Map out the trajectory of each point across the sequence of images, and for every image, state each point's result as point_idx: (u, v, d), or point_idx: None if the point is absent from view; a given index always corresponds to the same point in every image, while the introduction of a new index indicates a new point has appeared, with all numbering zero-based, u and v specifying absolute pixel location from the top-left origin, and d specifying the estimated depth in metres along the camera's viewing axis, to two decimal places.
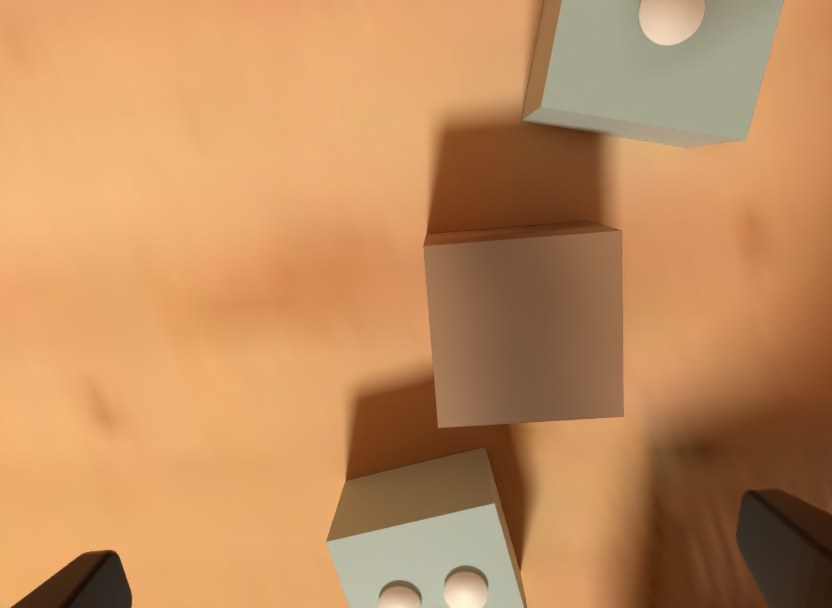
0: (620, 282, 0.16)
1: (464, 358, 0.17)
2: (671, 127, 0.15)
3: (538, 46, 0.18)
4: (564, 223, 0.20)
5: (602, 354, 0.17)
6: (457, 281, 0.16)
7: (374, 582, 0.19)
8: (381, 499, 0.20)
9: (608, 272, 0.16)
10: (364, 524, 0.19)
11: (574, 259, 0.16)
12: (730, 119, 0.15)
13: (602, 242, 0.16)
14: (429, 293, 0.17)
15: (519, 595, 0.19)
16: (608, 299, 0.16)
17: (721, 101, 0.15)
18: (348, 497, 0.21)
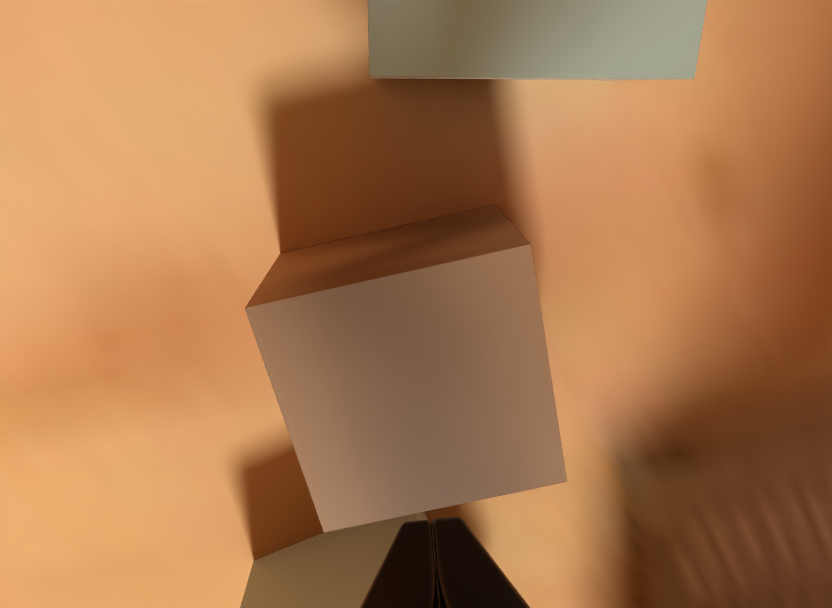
0: (539, 315, 0.11)
1: (339, 445, 0.12)
2: (578, 76, 0.10)
3: None
4: (463, 214, 0.14)
5: (527, 411, 0.12)
6: (305, 348, 0.11)
7: None
8: (290, 595, 0.16)
9: (520, 304, 0.11)
10: None
11: (468, 295, 0.11)
12: (667, 49, 0.10)
13: (505, 264, 0.11)
14: (270, 370, 0.11)
15: None
16: (525, 340, 0.11)
17: (650, 22, 0.09)
18: (253, 592, 0.17)
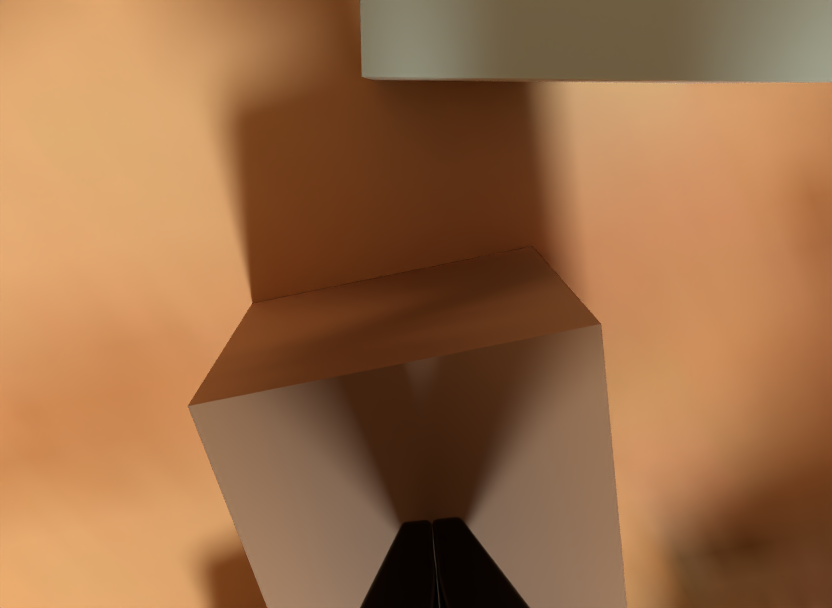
0: (606, 420, 0.08)
1: (321, 583, 0.09)
2: (676, 78, 0.06)
3: None
4: (492, 259, 0.11)
5: (581, 544, 0.09)
6: (275, 460, 0.08)
7: None
8: None
9: (580, 405, 0.08)
10: None
11: (508, 391, 0.08)
12: (814, 38, 0.06)
13: (562, 351, 0.08)
14: (225, 487, 0.08)
15: None
16: (584, 452, 0.08)
17: None
18: None
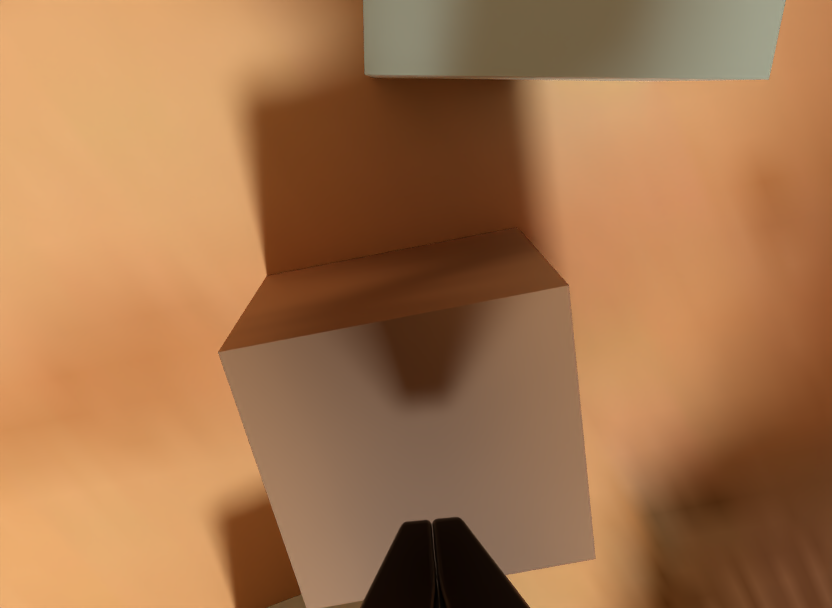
0: (573, 369, 0.09)
1: (328, 512, 0.10)
2: (624, 76, 0.08)
3: None
4: (480, 238, 0.12)
5: (553, 479, 0.10)
6: (291, 400, 0.09)
7: None
8: None
9: (551, 356, 0.09)
10: None
11: (490, 343, 0.09)
12: (737, 43, 0.08)
13: (536, 308, 0.09)
14: (247, 425, 0.09)
15: None
16: (555, 397, 0.10)
17: (717, 8, 0.08)
18: None
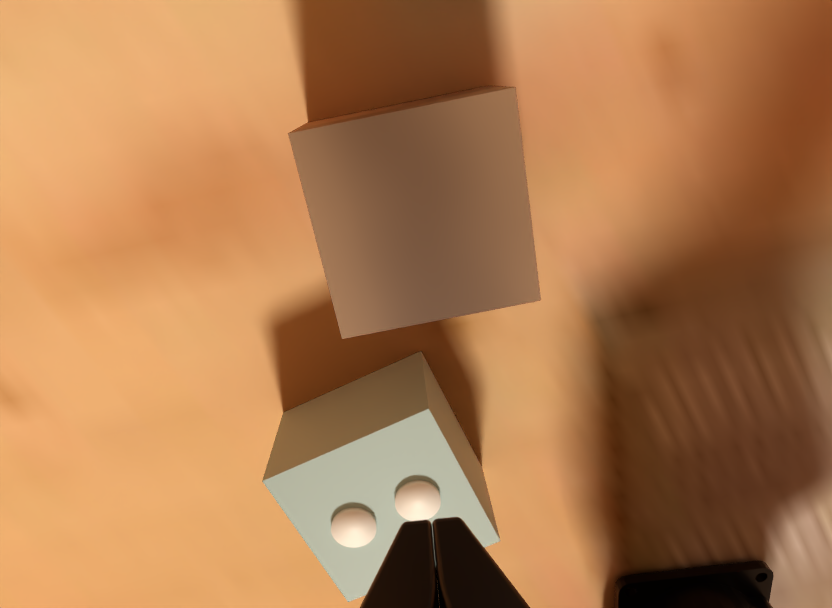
0: (521, 149, 0.14)
1: (358, 259, 0.15)
2: None
3: None
4: (462, 91, 0.17)
5: (510, 235, 0.15)
6: (335, 171, 0.14)
7: (323, 510, 0.18)
8: (317, 425, 0.19)
9: (506, 139, 0.14)
10: (300, 456, 0.18)
11: (465, 129, 0.14)
12: None
13: (495, 104, 0.14)
14: (305, 189, 0.14)
15: (473, 493, 0.18)
16: (509, 171, 0.14)
17: None
18: (285, 430, 0.20)
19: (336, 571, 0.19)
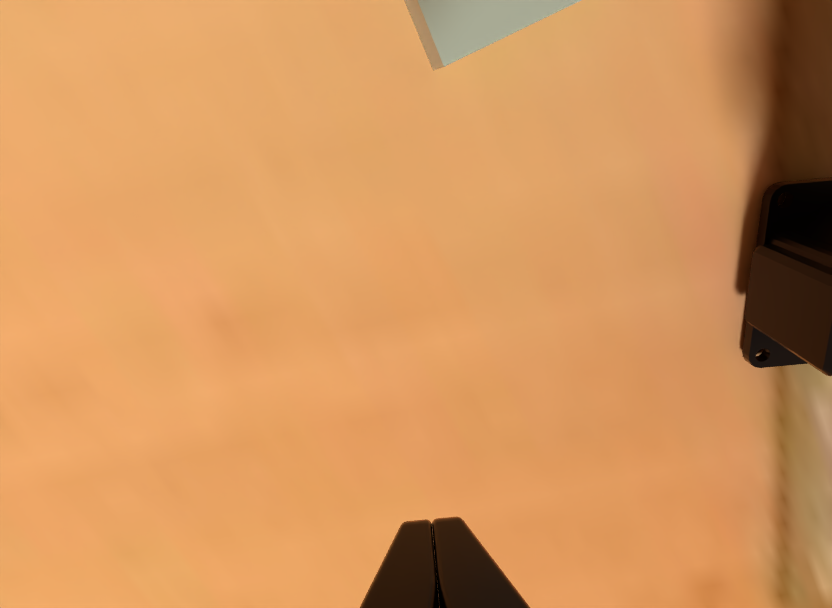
0: None
1: None
2: None
3: None
4: None
5: None
6: None
7: None
8: None
9: None
10: None
11: None
12: None
13: None
14: None
15: None
16: None
17: None
18: None
19: (432, 2, 0.13)
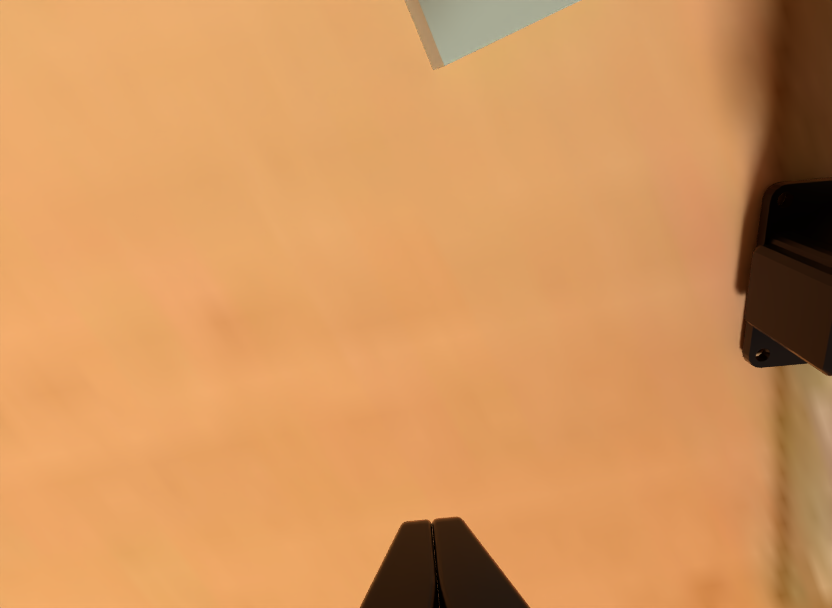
0: None
1: None
2: None
3: None
4: None
5: None
6: None
7: None
8: None
9: None
10: None
11: None
12: None
13: None
14: None
15: None
16: None
17: None
18: None
19: (432, 1, 0.13)
